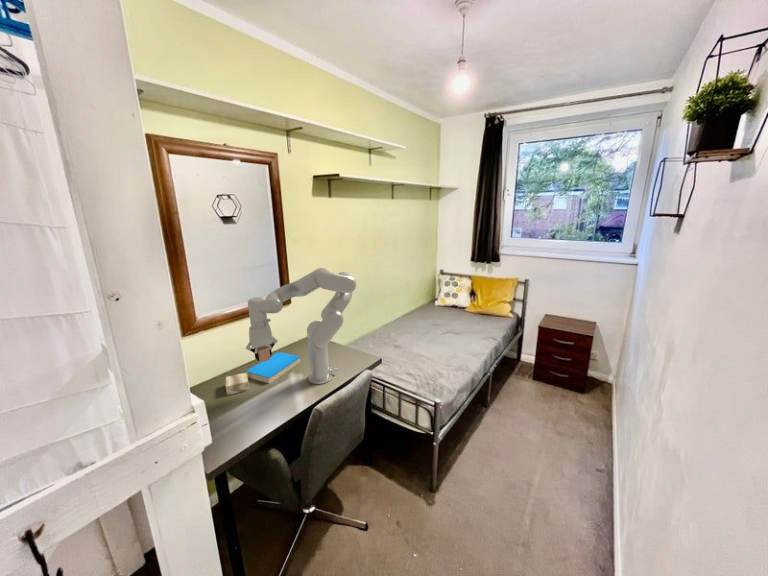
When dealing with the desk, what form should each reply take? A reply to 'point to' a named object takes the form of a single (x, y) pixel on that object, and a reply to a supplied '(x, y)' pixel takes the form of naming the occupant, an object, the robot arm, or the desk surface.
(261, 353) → the block
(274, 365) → the book
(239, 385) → the base
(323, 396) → the desk surface
